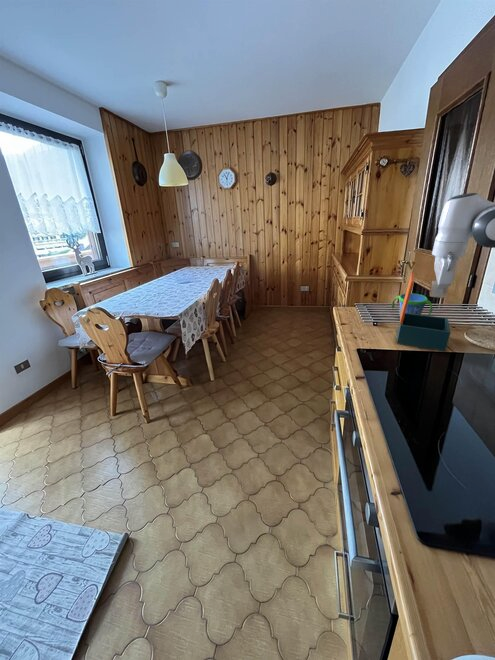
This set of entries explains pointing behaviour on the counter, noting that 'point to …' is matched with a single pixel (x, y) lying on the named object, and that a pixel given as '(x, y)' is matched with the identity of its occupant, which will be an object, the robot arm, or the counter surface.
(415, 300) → the snack cup
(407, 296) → the lid
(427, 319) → the dark teal open box
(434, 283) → the block
